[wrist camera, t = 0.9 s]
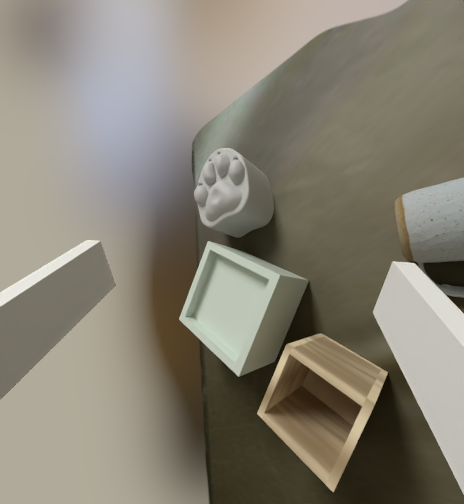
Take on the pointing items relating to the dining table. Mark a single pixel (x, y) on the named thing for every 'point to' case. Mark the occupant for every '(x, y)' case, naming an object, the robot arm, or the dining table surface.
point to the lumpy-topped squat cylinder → (233, 194)
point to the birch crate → (321, 402)
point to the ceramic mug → (433, 227)
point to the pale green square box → (241, 307)
